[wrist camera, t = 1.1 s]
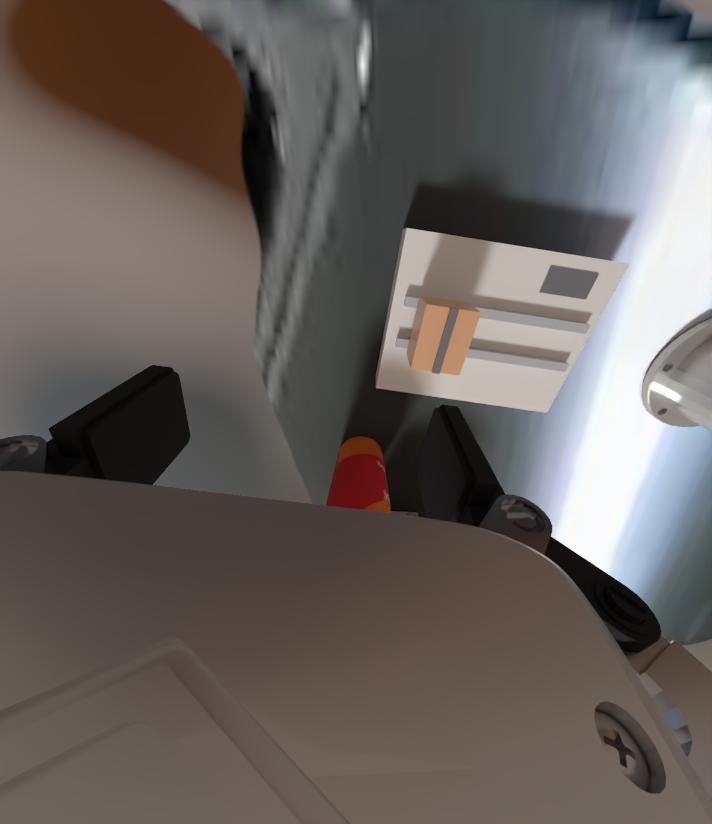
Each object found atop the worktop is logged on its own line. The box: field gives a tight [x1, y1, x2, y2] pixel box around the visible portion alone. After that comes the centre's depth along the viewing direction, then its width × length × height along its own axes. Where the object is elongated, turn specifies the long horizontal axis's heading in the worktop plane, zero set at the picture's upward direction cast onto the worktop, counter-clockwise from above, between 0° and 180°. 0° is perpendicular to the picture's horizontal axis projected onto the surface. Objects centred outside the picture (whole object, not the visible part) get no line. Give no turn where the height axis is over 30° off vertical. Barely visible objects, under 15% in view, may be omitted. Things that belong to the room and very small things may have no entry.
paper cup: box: [326, 436, 391, 513], centre depth 32 cm, size 8×8×14 cm
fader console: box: [376, 228, 629, 413], centre depth 28 cm, size 18×14×4 cm
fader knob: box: [406, 295, 481, 375], centre depth 24 cm, size 4×5×5 cm
